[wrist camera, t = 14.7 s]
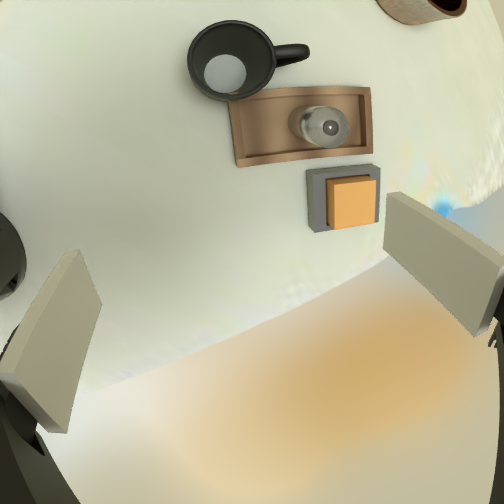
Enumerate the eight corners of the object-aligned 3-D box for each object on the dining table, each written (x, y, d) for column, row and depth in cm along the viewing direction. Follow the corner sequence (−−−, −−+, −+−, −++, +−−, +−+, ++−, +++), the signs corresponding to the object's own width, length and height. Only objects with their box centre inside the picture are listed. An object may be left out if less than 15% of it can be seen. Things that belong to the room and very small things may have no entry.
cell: (289, 140, 36) (312, 151, 29) (286, 106, 34) (309, 107, 26) (322, 137, 36) (352, 147, 29) (319, 104, 34) (349, 106, 27)
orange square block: (325, 220, 41) (334, 229, 38) (324, 178, 38) (334, 184, 35) (363, 214, 42) (374, 223, 39) (364, 174, 39) (376, 180, 36)
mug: (293, 97, 34) (321, 89, 26) (196, 111, 33) (195, 106, 25) (282, 38, 31) (306, 14, 22) (185, 50, 30) (180, 27, 21)
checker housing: (308, 225, 43) (314, 232, 40) (305, 170, 39) (312, 174, 37) (370, 215, 44) (378, 221, 41) (371, 163, 40) (380, 167, 38)
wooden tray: (235, 164, 37) (238, 167, 35) (226, 94, 33) (228, 93, 31) (365, 150, 39) (373, 153, 37) (361, 87, 34) (370, 87, 33)
